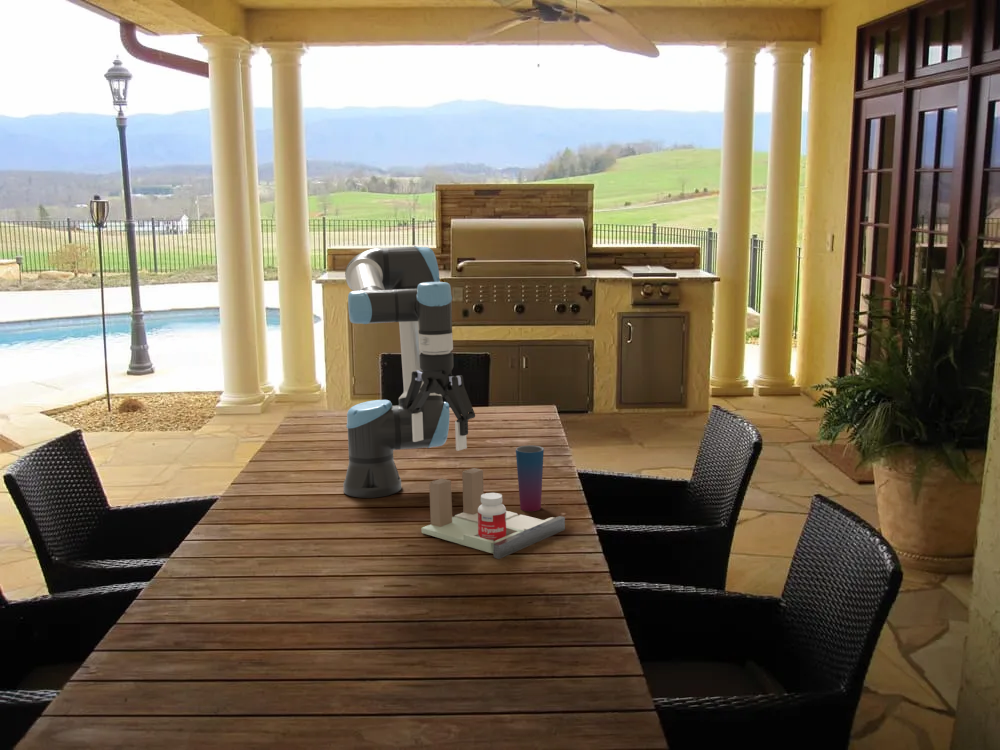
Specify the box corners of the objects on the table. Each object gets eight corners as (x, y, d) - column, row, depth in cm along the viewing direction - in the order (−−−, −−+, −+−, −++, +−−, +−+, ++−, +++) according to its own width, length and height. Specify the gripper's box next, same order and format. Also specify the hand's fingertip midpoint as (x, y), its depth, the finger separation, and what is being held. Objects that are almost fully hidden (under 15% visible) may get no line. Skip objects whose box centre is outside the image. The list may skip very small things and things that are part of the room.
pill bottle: (478, 549, 204) (477, 500, 202) (478, 539, 210) (476, 491, 208) (507, 548, 204) (506, 499, 202) (506, 538, 210) (505, 491, 209)
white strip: (493, 530, 215) (493, 520, 215) (521, 519, 222) (521, 509, 222) (527, 539, 209) (527, 529, 208) (555, 527, 216) (554, 517, 216)
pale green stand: (421, 532, 214) (419, 485, 213) (451, 521, 222) (450, 475, 220) (494, 554, 200) (493, 503, 198) (524, 541, 208) (523, 492, 206)
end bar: (493, 557, 199) (493, 543, 199) (559, 528, 216) (559, 515, 216) (499, 559, 198) (498, 545, 198) (564, 529, 215) (564, 517, 215)
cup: (542, 513, 227) (541, 452, 225) (514, 512, 229) (513, 451, 226) (546, 504, 234) (545, 445, 231) (519, 503, 235) (518, 444, 233)
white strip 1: (454, 520, 223) (453, 474, 221) (483, 509, 230) (481, 465, 228) (490, 529, 216) (488, 482, 214) (517, 518, 223) (517, 472, 221)
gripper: (385, 349, 215) (389, 440, 219) (466, 358, 199) (468, 456, 203) (409, 345, 221) (412, 434, 225) (489, 354, 205) (491, 449, 209)
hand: (439, 445), depth 214 cm, fingers open, 13 cm apart
